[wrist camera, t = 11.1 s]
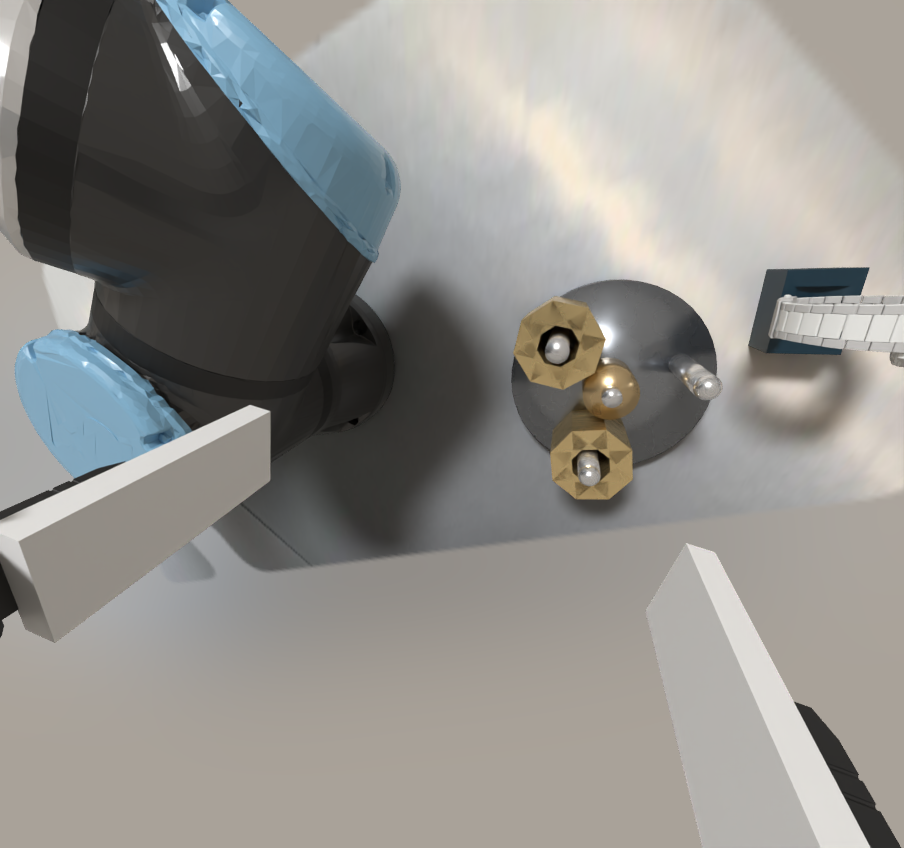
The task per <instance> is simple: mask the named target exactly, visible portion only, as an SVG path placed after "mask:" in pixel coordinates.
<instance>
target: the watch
mask: <svg viewBox="0 0 904 848" xmlns="http://www.w3.org/2000/svg"><path fill="white" fill-rule="evenodd" d="M868 271H869V268H807V269H768V270H767V272H766V276H765V280H764V284H763V288H762V292H761V296H760V300H759V304H758V308H757V312H756V316H755V320H754V324H753V328H752V333H751V337H750V341H749V346H751V347H753V348H756V349H758V350H760V351H762V352H765V353H785V354H829V355H841V352H842V349H844V346H845V349H850V350H860V351H876V352H891V353H890V361H891V364H892V365H895V366H899V367H904V296H860V295H861V292H862V289H863V286H864V283H865V280H866V277H867V274H868ZM862 297H863V299H862ZM861 300H862V302H861ZM882 300H883V301H882ZM881 303H882V304H881ZM866 333H867V334H866ZM865 336H866V337H865ZM846 340H847V342H846ZM845 343H846V345H845Z"/></svg>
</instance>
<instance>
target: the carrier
mask: <svg viewBox="0 0 904 848" xmlns="http://www.w3.org/2000/svg"><path fill="white" fill-rule="evenodd" d="M560 297H563V298H567V299H572V300H577V301H582V302H586V303H587V305H588V307H589V308H590V310H591V312H592V314H593V316H594V317H595V319H596V321H597V323H598V324H599V326H600V328H601V330H602V332H603V334H604V336H605V338H606V341H605V344H604V347H603V350H602V353H601V356H600V359H599V362H598V364H597V367H596V370H595V373H594V374H592V375H590V376H588V377H586V378H585V379H583V380H581V381H579V382H577V383H575V384H573V385H571V386H569V387H567V388H565V389H564V390H562V389H558V388H554V387H550V386H546V385H542V384H538V383H534V382H530V380H529V379H528V377H527V375H526V374H525V372H524V370H523V369H522V367H521V365H520V364H519V362H518V360H517V359H516V357H514V362H513V367H512V381H511V382H512V393H513V397H514V401H515V405H516V407H517V410H518V413H519V415H520V417H521V419H522V421H523V422H524V424H525V425H526V427H527V428H528V430H529V431H530V432H531V433H532V434H533V435H534V437H535V438H536V439H537V440H538V441H539V442H541V443H542V444H543V445H544V446H545V447H547V448H548V449H550V450H551V442H552V433H553V429H554V428H555V427H556V426H557V425H558V424H559V423H560V422H561V421H562V420H563V419H564V418H565V417H566V416H567V415H568V414H569V413H570V412H571V411H572V410H586V409H588V411H589V412H590V413H592V414H593V415H594V416H596V417H598V418H601V419H605V420H614V419H616V420H617V421H618V422H619V423H621V424H622V425H623V426H624V427H625V430H626V433H627V436H628V439H629V442H630V445H631V448H632V463H637V462H640V461H643V460H646V459H649V458H652V457H654V456H656V455H658V454H660V453H662V452H664V451H665V450H667V449H669V448H670V447H672V446H674V445H675V444H676V443H677V442H679V441H680V440H681V439H682V438H684V437H685V436H686V435H687V434H688V433H689V432H690V431H691V430H692V429H693V427H694V426H695V425H696V423H697V422H698V421H699V420H700V418H701V417H702V415H703V413H704V412H705V410H706V408H707V406H708V404H709V402H710V400H712V399H714V398H716V397H718V396H719V395H720V393H721V391H722V387H723V386H722V382H721V381H720V379H719V378H717V377H716V373H717V362H716V352H715V348H714V344H713V340H712V338H711V336H710V333H709V331H708V329H707V327H706V325H705V324H704V322H703V321H702V319H701V318H700V316H699V315H698V314H697V313H696V312H695V311H694V309H693V308H692V307H691V306H689V305H688V304H687V303H686V302H685V301H684V300H682V299H681V298H679V297H678V296H676V295H675V294H673V293H671V292H670V291H667V290H665V289H663V288H660V287H658V286H655V285H652V284H648V283H644V282H640V281H632V280H606V281H598V282H594V283H590V284H587V285H583V286H581V287H578V288H576V289H573V290H571V291H569V292H567V293H566V294H564V295H562V296H560ZM576 340H577V337H576V335H575V334H574V332H573V330H572V329H569V328H564V327H560V326H554V327H552V328H551V329H549V330H547V331H546V332H544V333H543V335H542V341H543V343H544V344H545V346H546V349H545V356H546V358H547V359H548V361H550V362H551V363H555V364H559V363H562V362H564V361H565V360H566V359H567V358H568V356H569V350H570V349H571V348H573V347H575V343H576ZM598 452H599V450H582V451H580V452H579V453H578V454H577V465H578V479H579V481H580V482H581V483H582V484H583V485H585V486H594V485H596V484H597V483H598V482H599V481H600V478H601V474H600V467H599V460H598Z"/></svg>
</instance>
